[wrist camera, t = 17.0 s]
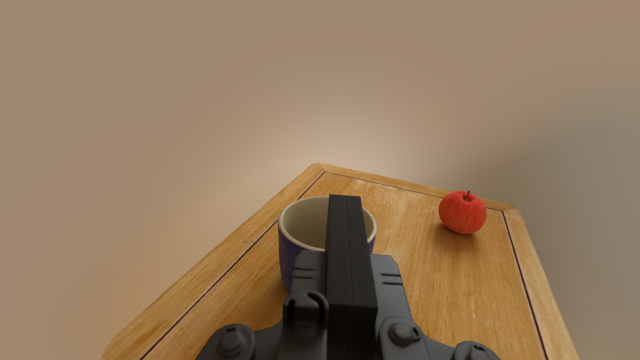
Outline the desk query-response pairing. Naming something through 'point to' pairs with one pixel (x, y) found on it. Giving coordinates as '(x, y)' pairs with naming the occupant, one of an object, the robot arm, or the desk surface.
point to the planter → (308, 231)
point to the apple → (462, 212)
